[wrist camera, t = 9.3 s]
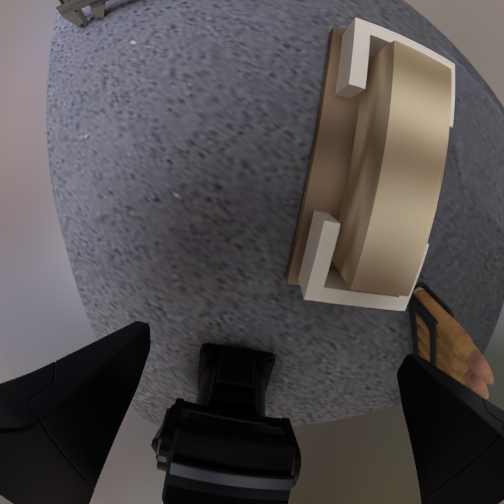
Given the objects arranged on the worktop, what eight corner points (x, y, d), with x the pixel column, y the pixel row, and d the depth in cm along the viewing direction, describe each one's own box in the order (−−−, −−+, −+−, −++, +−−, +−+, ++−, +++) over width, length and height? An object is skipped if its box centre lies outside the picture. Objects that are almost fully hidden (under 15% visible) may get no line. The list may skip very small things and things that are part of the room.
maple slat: (378, 264, 19) (408, 296, 14) (329, 256, 19) (350, 289, 14) (412, 83, 14) (451, 69, 9) (363, 64, 14) (394, 40, 9)
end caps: (388, 291, 19) (404, 311, 17) (298, 278, 19) (303, 299, 16) (432, 72, 13) (454, 64, 11) (342, 34, 13) (355, 17, 10)
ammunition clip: (406, 289, 21) (484, 383, 9) (423, 281, 20) (506, 366, 9) (414, 367, 24) (459, 449, 12) (428, 359, 23) (476, 438, 12)
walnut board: (388, 292, 21) (393, 298, 20) (285, 277, 20) (287, 283, 19) (433, 73, 14) (439, 70, 13) (330, 32, 14) (333, 27, 13)
